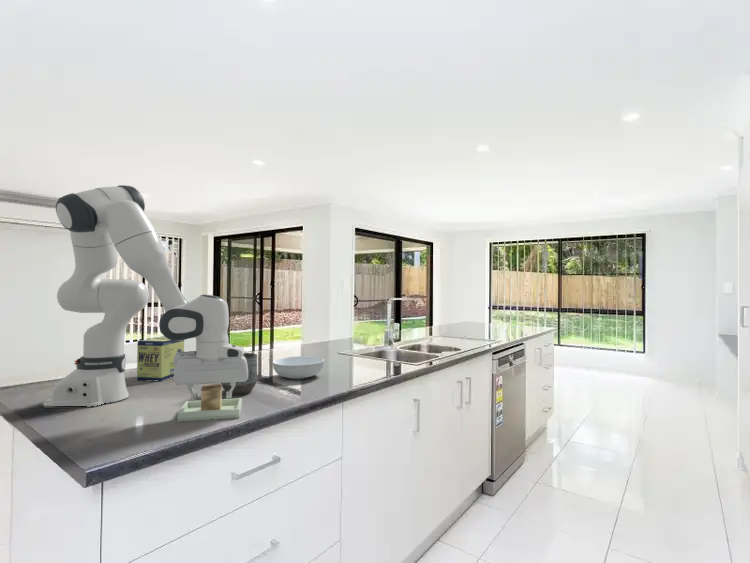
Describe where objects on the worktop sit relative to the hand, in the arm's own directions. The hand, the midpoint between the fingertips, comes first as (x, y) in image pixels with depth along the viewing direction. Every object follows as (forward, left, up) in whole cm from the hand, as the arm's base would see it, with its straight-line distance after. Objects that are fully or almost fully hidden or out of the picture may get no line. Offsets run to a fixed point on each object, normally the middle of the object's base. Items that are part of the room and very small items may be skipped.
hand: (211, 398), depth 121 cm
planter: (+6, +24, -5) cm, 25 cm away
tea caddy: (0, 0, -4) cm, 4 cm away
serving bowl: (+28, +44, -5) cm, 52 cm away
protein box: (-26, +56, -5) cm, 62 cm away
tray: (0, 0, -4) cm, 4 cm away
